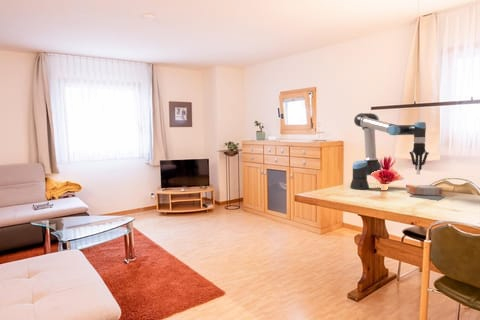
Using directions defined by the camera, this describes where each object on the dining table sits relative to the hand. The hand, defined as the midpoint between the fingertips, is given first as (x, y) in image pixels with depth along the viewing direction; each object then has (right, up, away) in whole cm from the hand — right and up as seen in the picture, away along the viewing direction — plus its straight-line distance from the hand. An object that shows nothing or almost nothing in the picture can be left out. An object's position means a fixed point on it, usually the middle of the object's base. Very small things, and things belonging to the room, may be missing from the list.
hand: (418, 174), depth 238 cm
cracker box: (-3, -12, +8) cm, 15 cm away
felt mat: (+5, -17, -3) cm, 18 cm away
